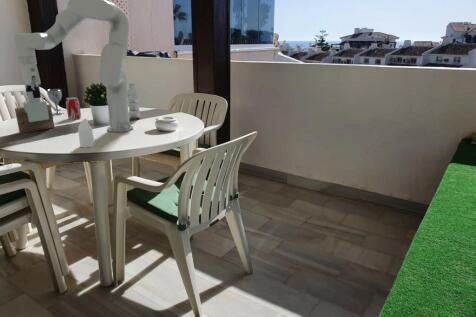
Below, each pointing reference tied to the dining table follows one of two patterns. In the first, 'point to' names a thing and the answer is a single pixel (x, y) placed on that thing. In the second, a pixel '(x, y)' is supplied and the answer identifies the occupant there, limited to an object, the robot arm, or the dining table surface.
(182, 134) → the dining table surface
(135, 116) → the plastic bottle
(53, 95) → the wine glass
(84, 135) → the white pointed crystal
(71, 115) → the soda can
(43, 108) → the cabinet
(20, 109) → the brown boxy piece
